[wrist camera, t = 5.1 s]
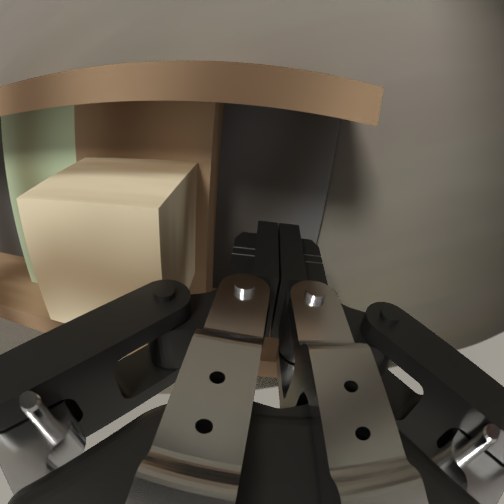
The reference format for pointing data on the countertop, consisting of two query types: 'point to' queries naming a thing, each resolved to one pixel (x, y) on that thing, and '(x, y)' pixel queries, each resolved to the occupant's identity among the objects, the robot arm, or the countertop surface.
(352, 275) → the countertop surface
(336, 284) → the countertop surface
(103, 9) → the countertop surface
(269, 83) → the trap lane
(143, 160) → the maple block
